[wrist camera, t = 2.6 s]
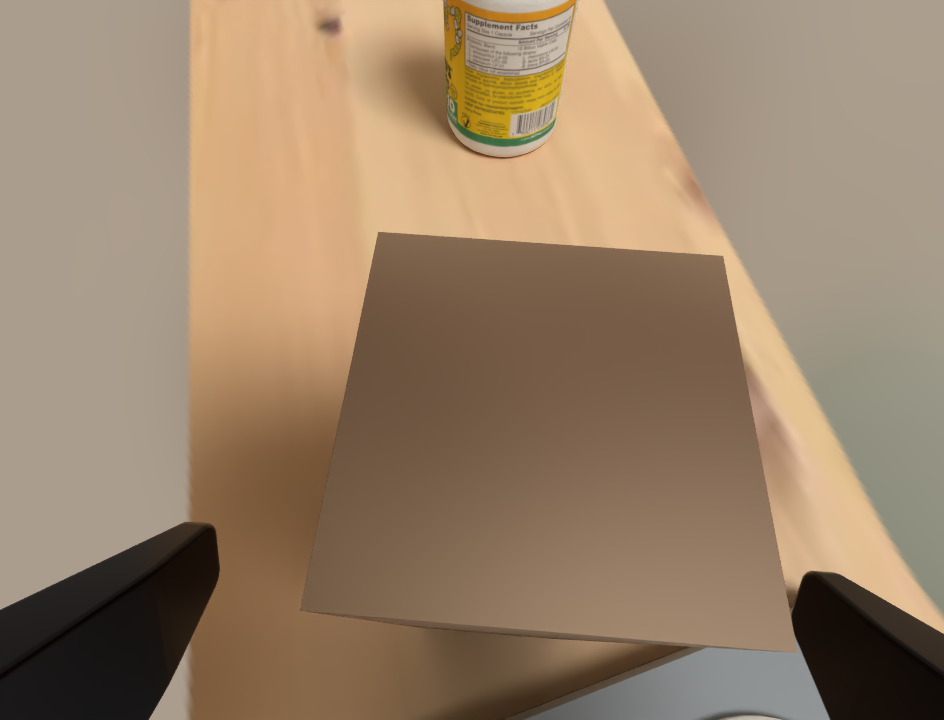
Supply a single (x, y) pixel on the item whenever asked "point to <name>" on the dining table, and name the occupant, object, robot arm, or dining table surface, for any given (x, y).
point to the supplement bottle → (506, 71)
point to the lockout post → (549, 451)
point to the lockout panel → (697, 690)
